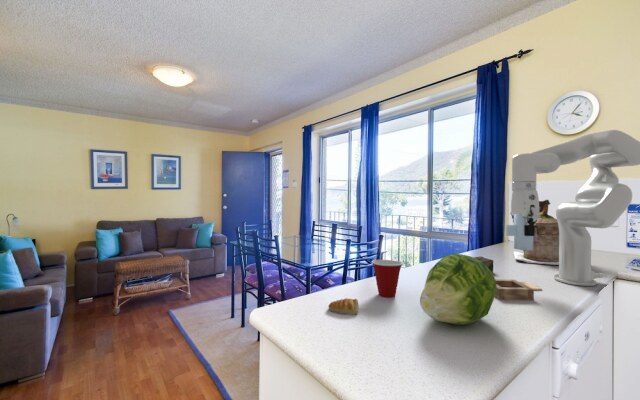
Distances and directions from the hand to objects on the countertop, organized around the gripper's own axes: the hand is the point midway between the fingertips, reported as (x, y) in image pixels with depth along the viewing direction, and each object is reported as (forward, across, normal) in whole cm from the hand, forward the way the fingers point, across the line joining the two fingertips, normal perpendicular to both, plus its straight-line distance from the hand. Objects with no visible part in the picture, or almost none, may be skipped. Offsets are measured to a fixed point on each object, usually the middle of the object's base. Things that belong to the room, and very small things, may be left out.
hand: (523, 234), depth 108 cm
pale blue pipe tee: (+6, 0, 0) cm, 6 cm away
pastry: (+21, -26, +67) cm, 75 cm away
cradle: (+20, -8, +10) cm, 24 cm away
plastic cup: (+20, -12, +52) cm, 57 cm away
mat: (+20, 0, 0) cm, 20 cm away
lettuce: (+20, -31, +36) cm, 52 cm away
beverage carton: (+20, +19, +11) cm, 30 cm away
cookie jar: (+20, +45, -36) cm, 61 cm away
